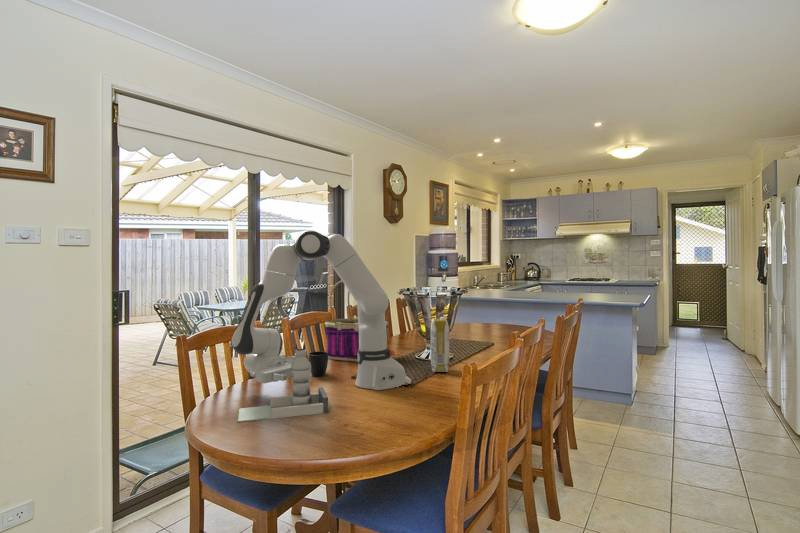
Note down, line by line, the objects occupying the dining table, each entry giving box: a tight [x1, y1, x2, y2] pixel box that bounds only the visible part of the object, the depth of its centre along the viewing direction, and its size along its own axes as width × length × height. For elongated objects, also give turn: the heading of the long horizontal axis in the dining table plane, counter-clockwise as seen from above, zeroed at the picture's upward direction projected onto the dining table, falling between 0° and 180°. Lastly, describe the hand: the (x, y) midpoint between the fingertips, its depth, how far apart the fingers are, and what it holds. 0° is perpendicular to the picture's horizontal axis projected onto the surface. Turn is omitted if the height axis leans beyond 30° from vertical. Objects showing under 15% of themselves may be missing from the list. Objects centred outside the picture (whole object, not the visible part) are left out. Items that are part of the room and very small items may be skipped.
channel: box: [269, 386, 329, 420], centre depth 153 cm, size 18×12×5 cm
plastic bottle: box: [291, 348, 313, 406], centre depth 153 cm, size 6×7×20 cm
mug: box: [308, 350, 329, 378], centre depth 198 cm, size 8×12×10 cm
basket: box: [324, 279, 389, 363], centre depth 229 cm, size 31×20×40 cm, turn 69°
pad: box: [237, 404, 272, 423], centre depth 149 cm, size 10×12×1 cm
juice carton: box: [430, 316, 450, 372], centre depth 202 cm, size 9×8×24 cm
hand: (296, 375), depth 155 cm, fingers open, 8 cm apart
